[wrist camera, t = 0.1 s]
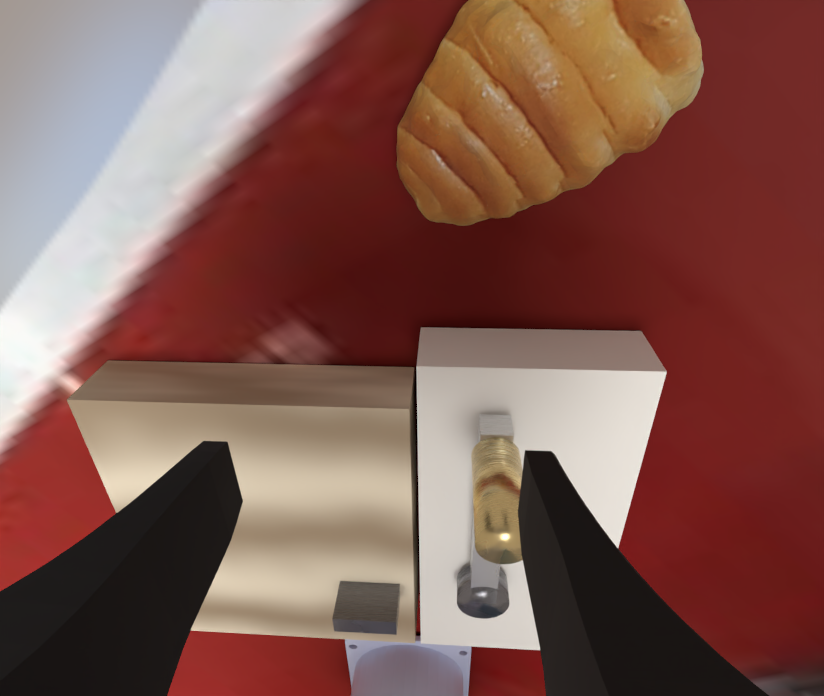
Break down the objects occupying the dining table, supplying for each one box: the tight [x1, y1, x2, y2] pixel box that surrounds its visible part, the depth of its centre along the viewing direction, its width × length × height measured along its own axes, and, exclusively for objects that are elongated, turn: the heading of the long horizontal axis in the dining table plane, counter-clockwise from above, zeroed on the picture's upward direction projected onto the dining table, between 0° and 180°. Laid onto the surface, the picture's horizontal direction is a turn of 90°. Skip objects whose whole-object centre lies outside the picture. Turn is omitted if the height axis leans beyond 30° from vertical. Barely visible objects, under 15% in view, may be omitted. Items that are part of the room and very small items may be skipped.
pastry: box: [396, 0, 704, 226], centre depth 16 cm, size 9×7×4 cm
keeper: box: [332, 581, 400, 635], centre depth 26 cm, size 1×3×2 cm, turn 91°
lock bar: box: [457, 414, 523, 619], centre depth 21 cm, size 11×2×5 cm, turn 1°
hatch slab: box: [67, 360, 418, 643], centre depth 26 cm, size 16×14×3 cm
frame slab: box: [416, 327, 667, 650], centre depth 25 cm, size 18×9×3 cm, turn 1°
